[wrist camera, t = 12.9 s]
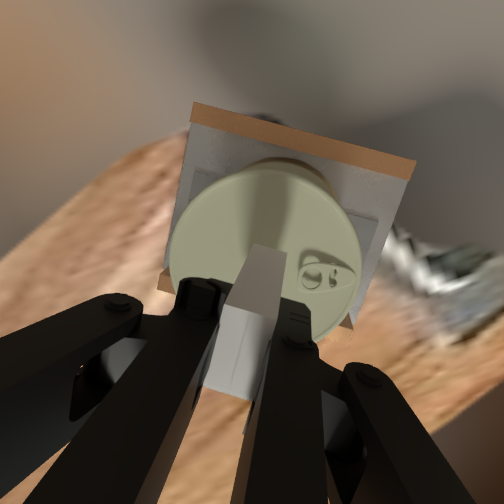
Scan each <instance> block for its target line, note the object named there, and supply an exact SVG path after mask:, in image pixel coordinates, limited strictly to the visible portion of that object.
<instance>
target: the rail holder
mask: <svg viewBox="0 0 504 504" xmlns="http://www.w3.org/2000/svg"><path fill="white" fill-rule="evenodd" d="M190 122H191V127H190V132H189V137H188V143H187V148H186V153H185V158H184V163H183V168H182V173H181V178H180V183H179V188H178V193H177V198H176V203H175V208H174V214H173V219H172V224H171V229H170V234H169V239H168V244H167V249H166V254H165V259H164V264H163V269H165V270H164V271H163V272H162V273H160V276H159V281H158V286H157V289H158V290H161V291H164V292H168V293H171V294H175V295H176V293H175V290H174V287H173V284H172V280H171V276H170V269H169V249H170V242H171V237H172V234H173V231H174V228H175V226H176V223H177V221H178V219H179V217H180V215H181V213H182V212H183V210H184V209H185V207H186V206H187V205H188V203H189V202H190V201H191V200H192V199H193V198H194V197H195V196H196V195H197V194H198V193H199V192H200V191H201V190H203V189H204V188H205V187H207V186H208V185H209V184H211V183H212V182H214V181H216V180H218V179H220V178H222V177H224V176H227V175H229V174H232V173H236V172H238V171H240V170H241V169H242V168H244V167H245V166H247V165H249V164H251V163H253V162H255V161H258V160H261V159H264V158H270V157H287V158H293V159H297V160H300V161H302V162H305V163H307V164H309V165H310V166H312V167H314V168H315V169H316V170H318V171H319V172H320V173H321V174H322V175H323V176H324V177H325V178H326V179H327V180H328V181H329V183H330V184H331V186H332V187H333V189H334V191H335V193H336V195H337V198H338V201H339V204H340V205H341V206H342V207H343V209H344V210H345V211H346V213H347V214H348V216H349V217H350V219H351V221H352V223H353V225H354V227H355V229H356V232H357V235H358V238H359V241H360V245H361V251H362V278H361V283H360V287H359V291H358V294H357V296H356V299H355V301H354V303H353V305H352V307H351V309H350V311H349V312H348V314H347V315H346V317H345V318H344V319H343V320H342V322H341V323H340V324H339V325H338V326H337V327H336V328H335V329H334V330H333V331H332V332H331V333H329V334H328V335H327V336H326V337H324V338H325V339H329V340H332V341H336V342H339V343H343V344H346V345H348V344H349V341H350V338H351V336H352V333H353V326H352V323H353V324H355V322H356V319H357V316H358V314H359V311H360V308H361V306H362V303H363V300H364V298H365V295H366V292H367V290H368V287H369V284H370V282H371V279H372V276H373V274H374V271H375V268H376V266H377V263H378V260H379V257H380V255H381V252H382V249H383V247H384V244H385V241H386V239H387V236H388V233H389V231H390V228H391V225H392V223H393V220H394V217H395V215H396V212H397V209H398V206H399V204H400V201H401V199H402V196H403V193H404V190H405V188H406V185H407V182H408V180H410V178H411V175H412V173H413V170H414V167H415V165H416V162H417V161H414V160H410V159H407V158H403V157H399V156H396V155H392V154H388V153H384V152H381V151H377V150H373V149H369V148H365V147H362V146H358V145H354V144H350V143H347V142H343V141H339V140H335V139H332V138H328V137H324V136H320V135H317V134H312V133H309V132H305V131H302V130H298V129H294V128H290V127H287V126H283V125H279V124H275V123H272V122H268V121H264V120H260V119H257V118H253V117H249V116H245V115H242V114H238V113H234V112H230V111H227V110H223V109H219V108H215V107H211V106H208V105H204V104H200V103H197V102H193V107H192V113H191V118H190Z"/></svg>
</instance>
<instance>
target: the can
mask: <svg viewBox="0 0 504 504" xmlns="http://www.w3.org/2000/svg"><path fill="white" fill-rule="evenodd" d="M254 243H255V244H259V245H262V246H266V247H269V248H273V249H276V250H280V251H283V252H287V259H286V265H285V272H284V278H283V285H282V292H281V297H284V298H287V299H290V300H294V301H297V302H301V303H304V304H306V306H307V307H308V308H309V310H310V311H311V328H312V340H313V341H314V342H315V343H316V342H318V341H319V340H321V339H323V338H324V337H326V336H327V335H328V334H329V333H331V332H332V331H333V330H334V329H335V328H336V327H337V326H338V325H339V324H340V323H341V322H342V320H343V319H344V318H345V317H346V315H347V314H348V312H349V311H350V309H351V307H352V305H353V303H354V301H355V299H356V296H357V294H358V291H359V287H360V283H361V278H362V251H361V245H360V241H359V238H358V235H357V232H356V229H355V227H354V225H353V223H352V221H351V219H350V217H349V216H348V214H347V213H346V211H345V210H344V209H343V207H342V206H341V205H340V204H339V201H338V198H337V195H336V193H335V191H334V189H333V187H332V186H331V184H330V183H329V181H328V180H327V179H326V178H325V177H324V176H323V175H322V174H321V173H320V172H319V171H318V170H316V169H315V168H314V167H312V166H310V165H309V164H307V163H305V162H302V161H300V160H297V159H293V158H287V157H270V158H264V159H261V160H258V161H255V162H253V163H251V164H249V165H247V166H245V167H244V168H242V169H241V170H240V171H238V172H236V173H232V174H229V175H227V176H224V177H222V178H220V179H218V180H216V181H214V182H212V183H211V184H209V185H208V186H207V187H205V188H204V189H203V190H201V191H200V192H199V193H198V194H197V195H196V196H195V197H194V198H193V199H192V200H191V201H190V202H189V203H188V205H187V206H186V207H185V209H184V210H183V212H182V213H181V215H180V217H179V219H178V221H177V223H176V226H175V228H174V231H173V234H172V237H171V242H170V249H169V269H170V276H171V280H172V284H173V287H174V290H175V293H176V295H177V291H178V286H179V281H180V280H182V279H183V278H188V277H200V278H205V279H209V278H214V279H217V280H221V281H224V282H228V283H231V284H234V283H235V281H236V279H237V276H238V274H239V272H240V270H241V268H242V266H243V264H244V262H245V260H246V258H247V256H248V254H249V252H250V250H251V248H252V246H253V244H254Z"/></svg>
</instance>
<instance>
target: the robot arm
mask: <svg viewBox="0 0 504 504" xmlns="http://www.w3.org/2000/svg"><path fill="white" fill-rule="evenodd" d="M286 259H287V252H283V251H280V250H276V249H273V248H269V247H266V246H262V245H259V244H255V243H254V244H253V246H252V248H251V250H250V252H249V254H248V256H247V258H246V260H245V262H244V264H243V266H242V268H241V270H240V272H239V274H238V276H237V279H236V281H235V283H234V284H231V283H228V282H224V281H221V280H217V279H214V278H209V279H205V278H200V277H188V278H183V279H182V280H180V281H179V286H178V291H177V295H176V300H175V305H174V308H173V309H172V310H171V312H170V313H169V314H168V315H164V316H159V315H148V314H143V304H142V303H141V301H139V300H138V299H136V298H134V297H132V296H128V295H127V294H121V293H112V294H104V295H100V296H97V297H95V298H92V299H90V300H88V301H85V302H83V303H81V304H78V305H76V306H74V307H71V308H69V309H67V310H64V311H62V312H60V313H57V314H55V315H53V316H50V317H48V318H46V319H43V320H41V321H39V322H36V323H34V324H32V325H29V326H27V327H25V328H22V329H20V330H18V331H15V332H13V333H11V334H8V335H6V336H4V337H1V338H0V499H1V498H2V497H3V496H5V495H6V494H7V493H8V492H9V491H11V490H12V489H13V488H14V487H15V486H17V485H18V484H19V483H20V482H22V481H23V480H24V479H25V478H26V477H28V476H29V475H30V474H31V473H32V472H34V471H35V470H36V469H37V468H38V467H40V466H41V465H42V464H43V463H44V462H46V461H47V460H48V459H49V458H50V457H52V456H53V455H54V454H55V453H56V452H58V451H59V450H60V449H61V448H63V447H64V446H65V445H66V444H67V443H69V442H70V443H69V444H68V445H67V447H66V448H65V449H64V451H63V452H62V453H61V454H60V456H59V457H58V458H57V460H56V461H55V462H54V463H53V465H52V466H51V467H50V469H49V470H48V471H47V473H46V474H45V475H44V476H43V478H42V479H41V480H40V482H39V483H38V484H37V486H36V487H35V488H34V489H33V491H32V492H31V493H30V495H29V496H28V497H27V498H26V500H25V501H24V502H23V504H157V502H158V499H159V497H160V494H161V492H162V489H163V487H164V484H165V482H166V479H167V477H168V474H169V472H170V469H171V467H172V464H173V462H174V459H175V457H176V455H177V452H178V450H179V447H180V445H181V442H182V440H183V437H184V435H185V432H186V430H187V427H188V425H189V422H190V420H191V417H192V415H193V412H194V410H195V407H196V405H197V402H198V400H199V397H200V393H201V390H202V386H203V387H206V388H209V389H213V390H216V391H219V392H223V393H226V394H229V395H232V396H236V397H239V398H242V399H246V400H249V401H252V404H251V407H250V411H249V414H248V417H247V420H246V424H245V427H244V430H243V434H244V439H243V443H242V448H241V453H240V458H239V463H238V467H237V472H236V477H235V482H234V487H233V491H232V496H231V501H230V504H328V499H329V502H330V504H476V502H475V501H474V499H473V498H472V497H471V495H470V494H469V492H468V491H467V489H466V488H465V486H464V485H463V483H462V482H461V480H460V479H459V478H458V476H457V475H456V473H455V472H454V470H453V469H452V467H451V466H450V464H449V463H448V462H447V460H446V459H445V457H444V456H443V454H442V453H441V451H440V450H439V448H438V447H437V445H436V444H435V443H434V441H433V440H432V438H431V437H430V435H429V434H428V432H427V431H426V429H425V428H424V426H423V425H422V424H421V422H420V421H419V419H418V418H417V416H416V415H415V413H414V412H413V410H412V409H411V407H410V406H409V405H408V403H407V402H406V400H405V399H404V397H403V396H402V394H401V393H400V391H399V390H398V389H397V387H396V386H395V384H394V383H393V381H392V380H391V379H390V378H389V377H388V376H387V375H386V374H384V373H383V372H382V371H380V370H379V369H378V368H376V367H373V366H372V365H369V364H364V363H360V362H351V363H348V364H346V366H345V368H344V370H343V372H342V371H340V370H338V369H336V368H334V367H332V366H330V365H329V364H327V363H325V362H324V361H323V360H321V359H320V358H319V349H318V347H317V344H316V343H315V342H314V341H313V340H312V328H311V311H310V310H309V308H308V307H307V306H306V304H304V303H301V302H297V301H294V300H290V299H287V298H284V297H281V292H282V285H283V278H284V272H285V265H286ZM82 365H83V367H81V366H82ZM80 367H81V368H80ZM203 382H204V384H203Z"/></svg>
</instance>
